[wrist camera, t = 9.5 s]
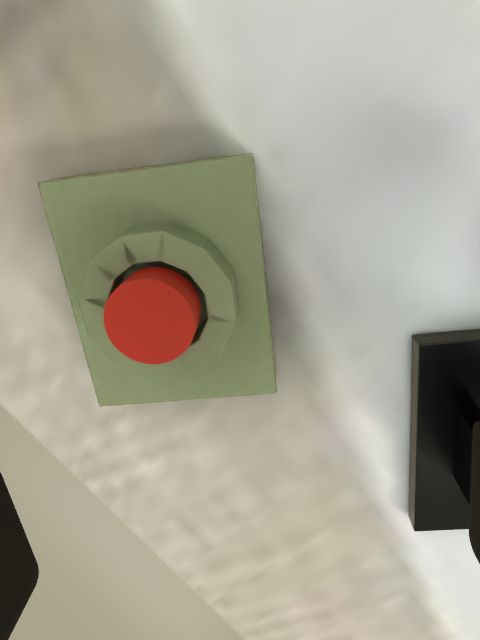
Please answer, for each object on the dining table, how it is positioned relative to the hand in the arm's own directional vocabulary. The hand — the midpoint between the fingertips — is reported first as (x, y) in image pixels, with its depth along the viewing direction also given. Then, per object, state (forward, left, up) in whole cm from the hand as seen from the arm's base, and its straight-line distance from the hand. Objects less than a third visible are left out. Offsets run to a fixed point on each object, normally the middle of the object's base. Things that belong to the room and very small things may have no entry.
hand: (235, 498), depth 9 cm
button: (0, -4, -11) cm, 12 cm away
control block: (0, -4, -15) cm, 15 cm away
